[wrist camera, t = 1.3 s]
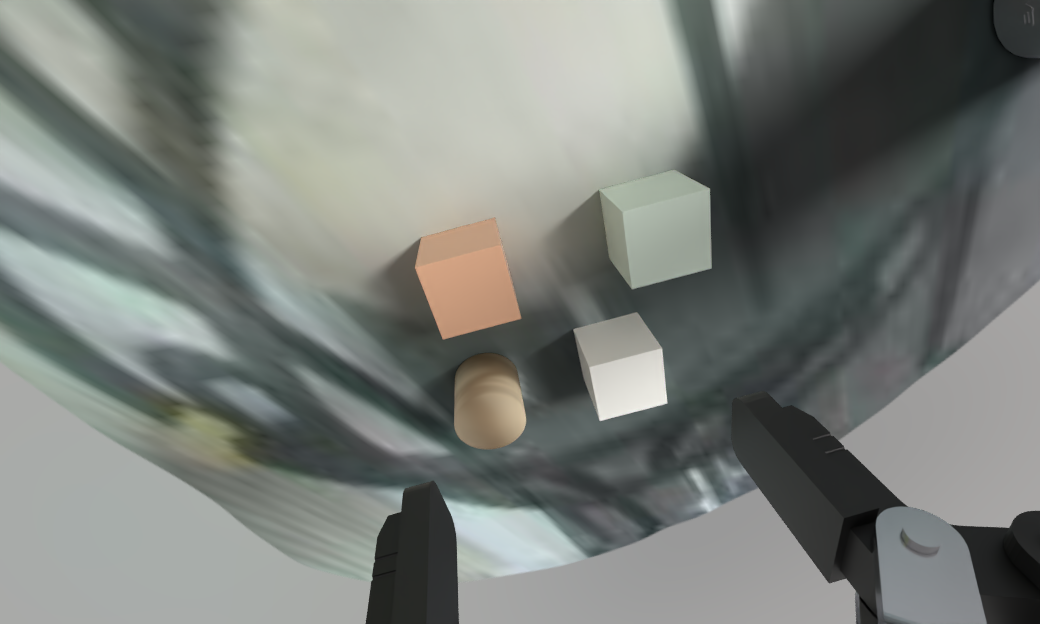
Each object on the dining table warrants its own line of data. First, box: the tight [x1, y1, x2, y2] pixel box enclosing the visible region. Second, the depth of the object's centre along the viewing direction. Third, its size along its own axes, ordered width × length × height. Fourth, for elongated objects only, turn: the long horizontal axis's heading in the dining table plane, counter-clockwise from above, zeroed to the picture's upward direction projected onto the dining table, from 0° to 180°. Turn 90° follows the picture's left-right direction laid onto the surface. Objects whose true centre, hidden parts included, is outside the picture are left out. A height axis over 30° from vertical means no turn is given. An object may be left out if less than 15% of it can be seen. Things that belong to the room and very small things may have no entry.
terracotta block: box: [415, 218, 521, 339], centre depth 29 cm, size 5×5×5 cm
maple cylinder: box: [454, 353, 526, 449], centre depth 34 cm, size 5×5×5 cm
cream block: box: [573, 312, 667, 421], centre depth 34 cm, size 5×5×5 cm
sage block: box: [599, 170, 712, 289], centre depth 29 cm, size 5×5×5 cm
